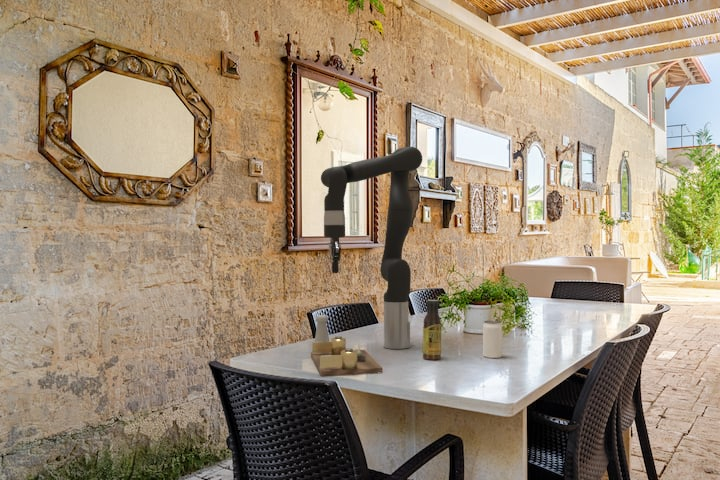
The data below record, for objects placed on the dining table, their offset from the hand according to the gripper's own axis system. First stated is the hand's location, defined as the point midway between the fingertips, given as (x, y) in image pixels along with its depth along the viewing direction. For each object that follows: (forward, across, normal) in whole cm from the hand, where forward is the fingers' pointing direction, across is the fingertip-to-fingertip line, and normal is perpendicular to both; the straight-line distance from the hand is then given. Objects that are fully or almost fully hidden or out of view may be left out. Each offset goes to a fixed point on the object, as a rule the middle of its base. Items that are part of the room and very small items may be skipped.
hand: (335, 272), depth 208 cm
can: (+29, -16, -52) cm, 62 cm away
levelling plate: (+29, -16, 0) cm, 33 cm away
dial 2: (+27, -28, +3) cm, 39 cm away
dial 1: (+27, -6, +3) cm, 28 cm away
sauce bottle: (+29, -14, -31) cm, 45 cm away
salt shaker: (+29, +8, +4) cm, 31 cm away
